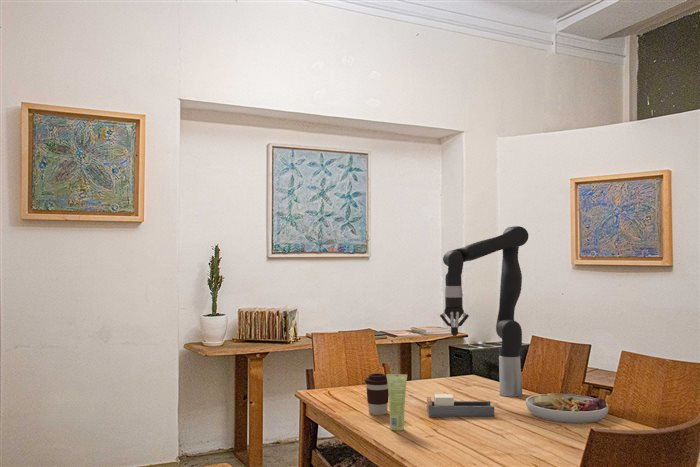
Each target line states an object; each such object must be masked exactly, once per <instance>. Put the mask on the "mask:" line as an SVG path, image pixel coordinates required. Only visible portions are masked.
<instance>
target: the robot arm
mask: <svg viewBox="0 0 700 467" xmlns="http://www.w3.org/2000/svg"><path fill="white" fill-rule="evenodd" d="M528 240H529V232H528V231H527V229H526V228H524V227H523V226H519V225H514V226H508V227H507V228H505V229H504V231H503V232H502V234H500V235H497V236H494V237H491V238H487V239H483V240H479V241H476V242H473V243H471V244H467V245H465V246H463V247H459V248H456V249H455V248H454V249H452V250H449V251H446V253H444V255H443V257H442V262H443V264H444V265H445V266H447V273H446V274H445V278H444V280H445V289H444V302H445V304H444V305H445V307H444V310H443V313H440V314H439V317H440V318H441V320H442V321H443V322H444V323H445V325H447V327H450V334H451V335H452V337H457V335H458V334H459V327H462V326H463V325H464V324H465V322H466V320H467V319H468V318H469V317H470V315H469V314H467V313H466V312H465V310H464V307H463V303H464V302H463V287H462V282H463V280H462V274H463V268H464V263H466V262H471V261H474V260H477V259H480V258H484V257H485V256H488V255H491V254H493V253H495V252H498V251H502V261H501V262H502V263H501V275H500V285H499V287H500V288H499V289H500V290H499V304H498V305H499V306H498V314H497V320H496V324H495V331H496V332H495V333H496V335H497V336H498V337H499V338H500V339H501V347H500V348H499V349H498V369H499V370H498V371H499V372H498V373H499V374H498V375H499V378H498V379H499V395H501V396H504V397H510V398H512V397H514V398H515V397H523V374H522V372H521V368H522V367H521V351H522V348H523V331H522V326H521V325H520V323H519V322H518V321H516V320H515V311H516V310H515V309H516V305H517V303H518V301H519V298H520V296H521V292H522V285H523V284H522V282H523V276H522V275H523V273H522V270H521V265H520V263H519V250H520V249H519V248H520V247H522V246H524V245H525V244H527V242H528ZM461 317H462V318H461ZM446 318H447V319H449V321H450V322H449V321H448V320H447V319H446ZM460 319H461V320H460ZM459 320H460V321H459Z"/></svg>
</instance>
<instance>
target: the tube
mask: <svg viewBox="0 0 700 467" xmlns="http://www.w3.org/2000/svg"><path fill="white" fill-rule="evenodd" d="M385 375H386V377H387V383H388V393H389V396H388V405H389V429H390V430H391V431H393V432H394V431H396V432H399V431H403V430H404V429H405V407H406V406H405V405H406V392H407V390H406V389H407V379H408V374H405V373H404V374H403V373H402V374H395V373H394V374H393V373H391V374H390V373H388V374H387V373H386V374H385Z"/></svg>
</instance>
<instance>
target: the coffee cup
mask: <svg viewBox="0 0 700 467" xmlns="http://www.w3.org/2000/svg"><path fill="white" fill-rule="evenodd" d="M364 383H365V384H366V399H367V405H368V413H369V414H370V415H374V416H383V415H386V414H387V413H388V405H389V393H388V383H387V377H386V374H385V373H379V372H378V373H370V374H368V376H367V377H366V378H364Z"/></svg>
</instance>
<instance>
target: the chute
mask: <svg viewBox="0 0 700 467" xmlns="http://www.w3.org/2000/svg"><path fill="white" fill-rule="evenodd" d="M426 412H427V416H428V418H496V417H495V406H494V405H492V403H491V401H490V400H487V401H486V400H468V401H467V400H466V401H465V400H461V401H460V400H458V401H457V400H456V401H455V400H454V406H434V400H433V399H432V397H431V396H427V397H426Z"/></svg>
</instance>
